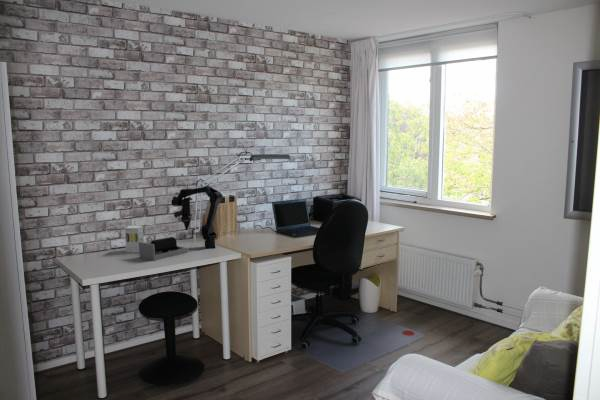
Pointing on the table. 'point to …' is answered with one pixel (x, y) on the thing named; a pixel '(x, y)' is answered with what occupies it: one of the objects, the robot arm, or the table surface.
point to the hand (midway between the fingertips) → (187, 228)
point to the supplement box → (133, 238)
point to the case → (149, 252)
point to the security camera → (165, 244)
